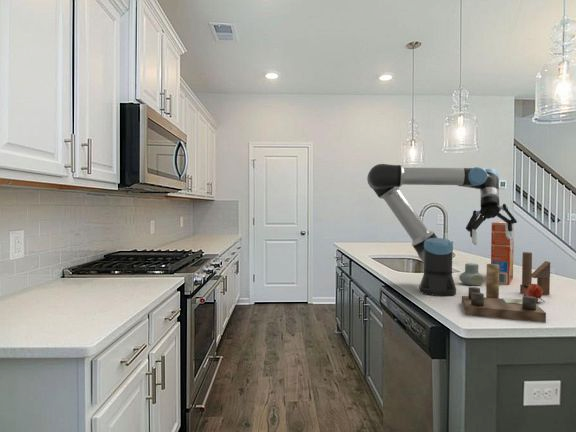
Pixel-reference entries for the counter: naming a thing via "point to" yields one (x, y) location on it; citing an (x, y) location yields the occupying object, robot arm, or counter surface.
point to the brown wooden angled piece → (535, 274)
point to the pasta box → (502, 251)
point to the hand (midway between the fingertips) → (490, 240)
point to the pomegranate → (533, 291)
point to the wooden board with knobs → (502, 307)
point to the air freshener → (471, 275)
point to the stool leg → (492, 281)
